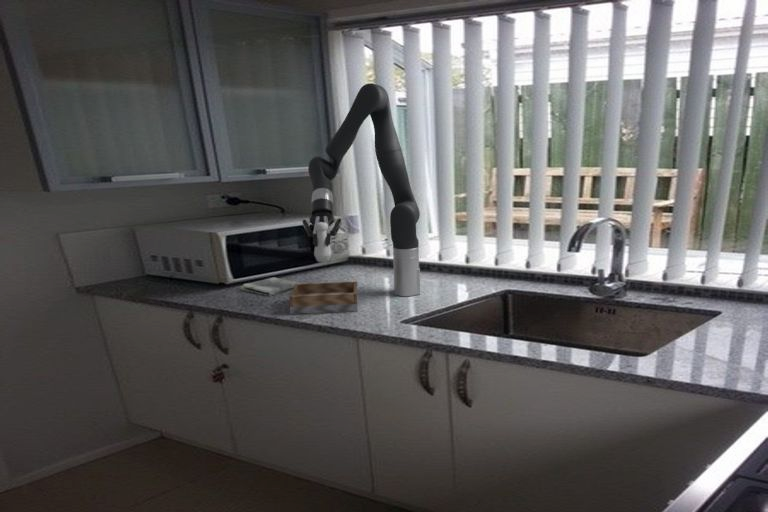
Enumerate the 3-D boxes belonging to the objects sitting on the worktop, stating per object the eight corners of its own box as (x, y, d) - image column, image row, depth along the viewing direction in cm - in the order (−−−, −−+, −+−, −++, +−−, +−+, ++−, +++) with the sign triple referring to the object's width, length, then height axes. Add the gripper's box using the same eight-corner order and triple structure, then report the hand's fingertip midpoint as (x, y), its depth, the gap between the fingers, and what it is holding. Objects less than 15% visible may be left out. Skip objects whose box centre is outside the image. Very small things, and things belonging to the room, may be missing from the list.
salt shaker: (328, 262, 173) (326, 223, 170) (312, 262, 174) (309, 224, 172) (333, 258, 179) (331, 221, 176) (317, 258, 180) (315, 221, 177)
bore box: (357, 297, 188) (357, 281, 187) (357, 311, 172) (356, 293, 171) (296, 300, 187) (295, 284, 186) (290, 314, 171) (289, 296, 170)
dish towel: (304, 287, 207) (304, 279, 206) (269, 298, 193) (269, 289, 192) (273, 281, 218) (272, 273, 217) (238, 291, 204) (237, 283, 203)
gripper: (300, 198, 179) (299, 239, 170) (341, 196, 180) (342, 238, 170) (303, 211, 185) (301, 252, 176) (343, 210, 186) (343, 250, 177)
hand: (321, 245), depth 173 cm, fingers closed on salt shaker, 3 cm apart
